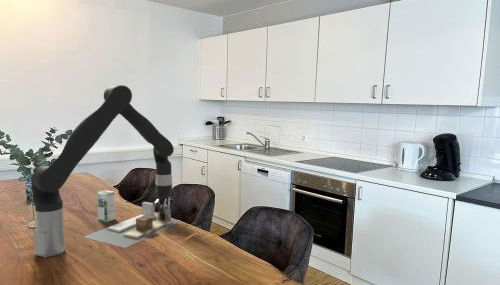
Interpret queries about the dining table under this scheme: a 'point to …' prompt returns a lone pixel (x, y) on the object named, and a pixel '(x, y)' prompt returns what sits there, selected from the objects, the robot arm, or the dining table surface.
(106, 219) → the syrup box
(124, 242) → the lane board
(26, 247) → the dining table surface
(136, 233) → the birch strip
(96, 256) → the dining table surface
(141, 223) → the walnut block
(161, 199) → the robot arm
